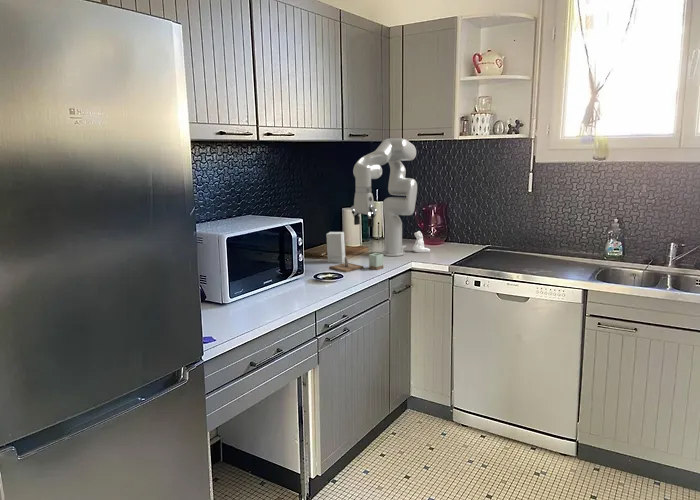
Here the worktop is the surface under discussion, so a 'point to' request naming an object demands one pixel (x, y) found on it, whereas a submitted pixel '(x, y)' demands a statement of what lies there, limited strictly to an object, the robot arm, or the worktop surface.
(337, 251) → the skincare box
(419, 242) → the white creature statuette
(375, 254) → the sleeve
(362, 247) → the worktop surface
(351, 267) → the pin board
